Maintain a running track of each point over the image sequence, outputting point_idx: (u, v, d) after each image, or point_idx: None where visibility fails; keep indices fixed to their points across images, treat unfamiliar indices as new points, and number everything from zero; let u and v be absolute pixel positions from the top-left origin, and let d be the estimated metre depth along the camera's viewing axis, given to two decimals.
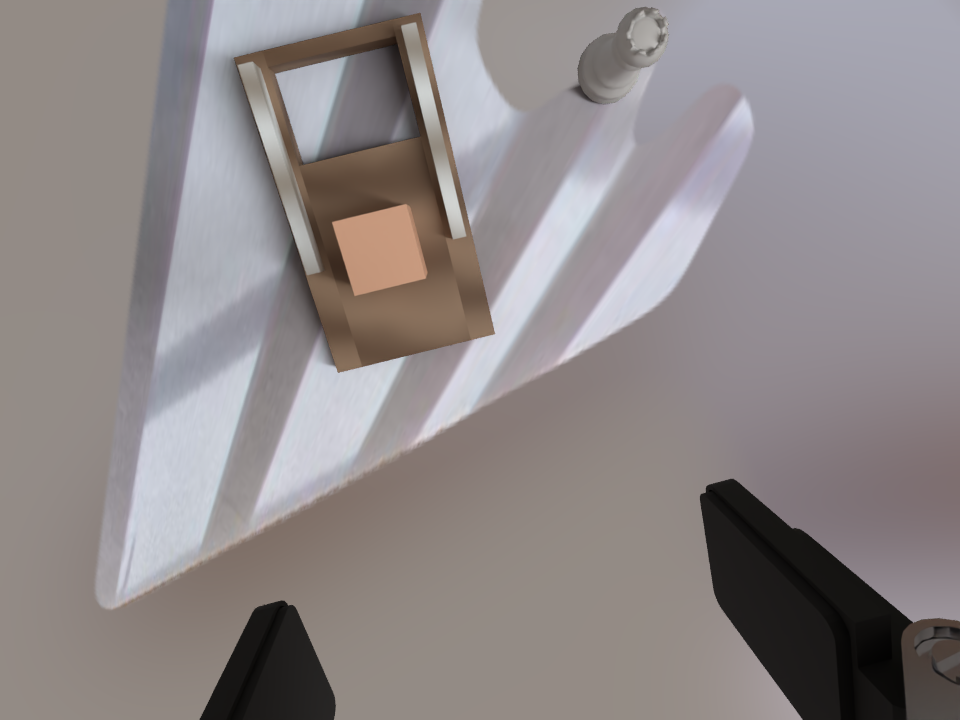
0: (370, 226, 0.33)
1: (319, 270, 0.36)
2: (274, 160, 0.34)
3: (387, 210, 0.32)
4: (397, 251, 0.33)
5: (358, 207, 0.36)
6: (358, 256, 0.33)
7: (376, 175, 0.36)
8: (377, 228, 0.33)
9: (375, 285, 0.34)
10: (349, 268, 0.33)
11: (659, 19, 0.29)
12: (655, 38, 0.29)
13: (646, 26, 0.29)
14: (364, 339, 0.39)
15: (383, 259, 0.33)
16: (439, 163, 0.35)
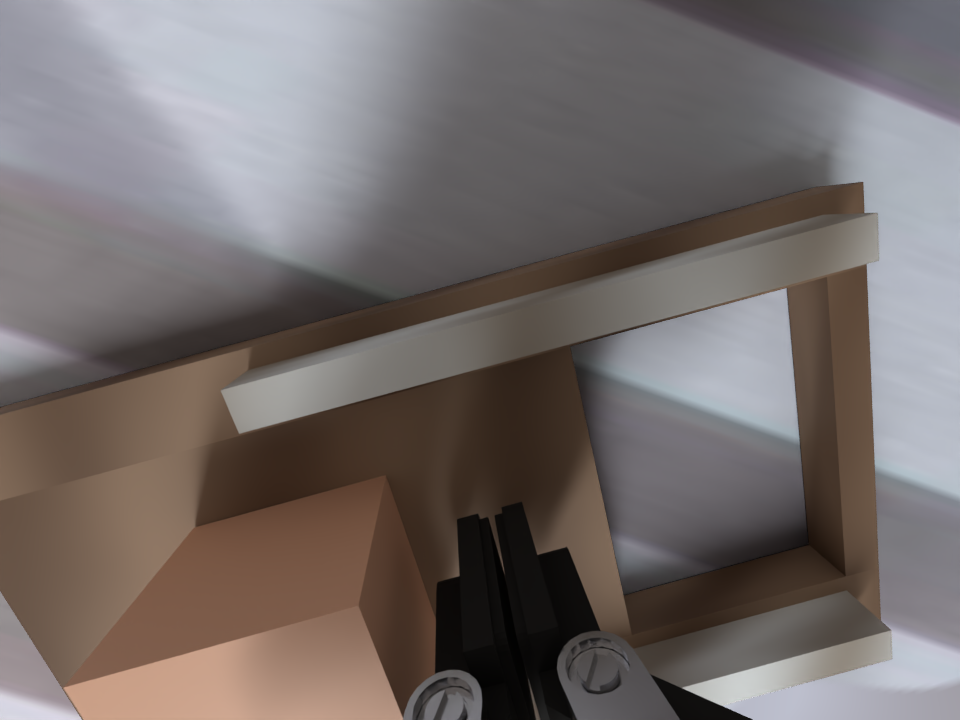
0: None
1: (245, 430, 0.10)
2: (597, 305, 0.10)
3: None
4: None
5: (458, 501, 0.13)
6: (235, 694, 0.08)
7: (542, 543, 0.13)
8: None
9: None
10: (178, 667, 0.08)
11: None
12: None
13: None
14: (51, 520, 0.12)
15: None
16: None
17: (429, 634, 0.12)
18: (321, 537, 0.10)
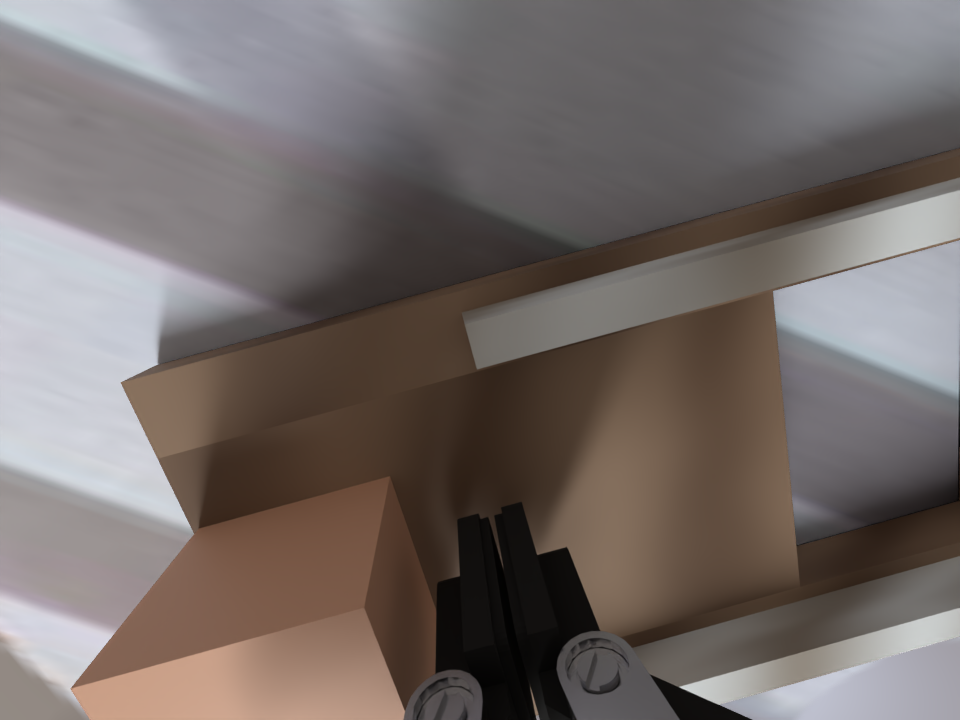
0: None
1: (482, 366, 0.10)
2: (835, 241, 0.10)
3: None
4: None
5: (648, 448, 0.13)
6: (241, 695, 0.08)
7: (725, 492, 0.13)
8: None
9: None
10: (185, 668, 0.08)
11: None
12: None
13: None
14: (254, 466, 0.12)
15: None
16: (762, 673, 0.13)
17: (433, 635, 0.13)
18: (327, 538, 0.10)
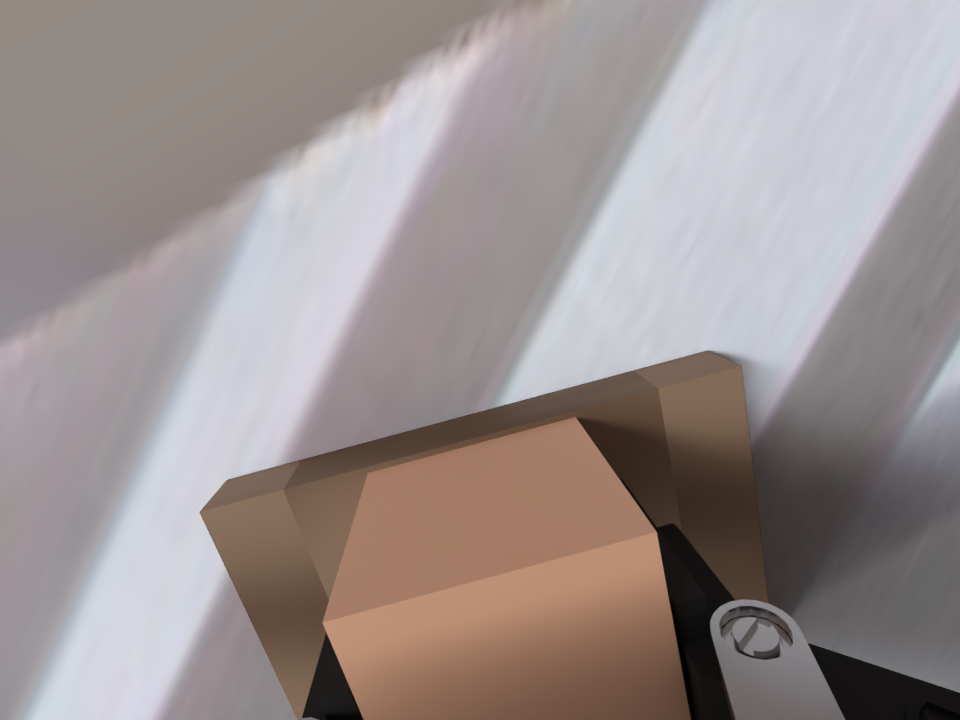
0: None
1: None
2: None
3: None
4: (452, 711, 0.08)
5: None
6: (617, 680, 0.08)
7: None
8: None
9: (555, 580, 0.07)
10: (661, 636, 0.08)
11: None
12: None
13: None
14: (637, 475, 0.12)
15: (513, 679, 0.08)
16: None
17: None
18: None
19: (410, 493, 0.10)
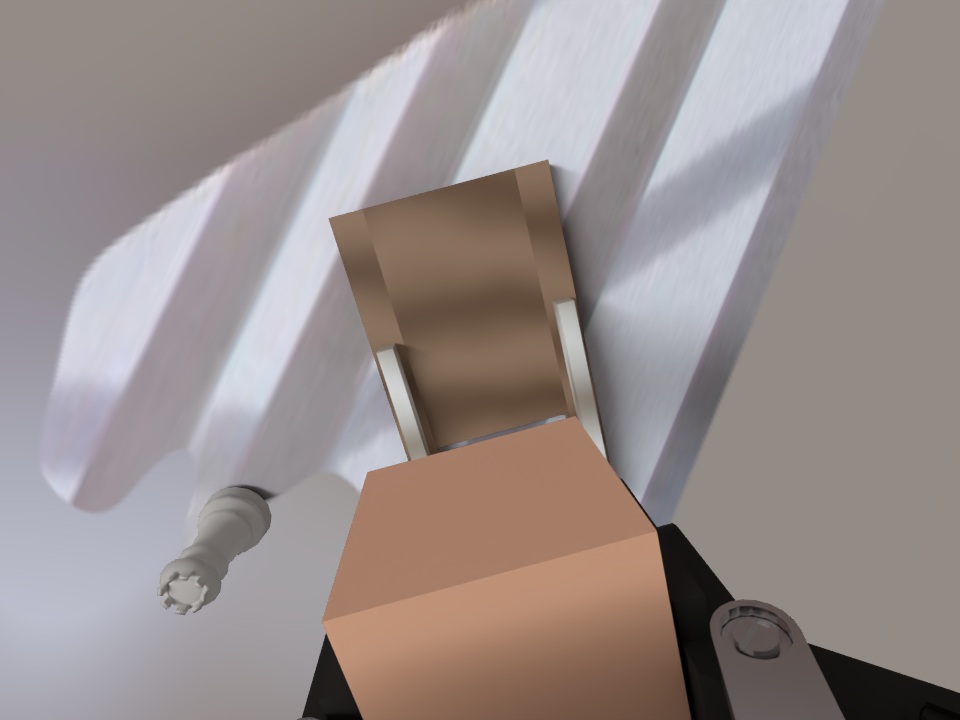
0: None
1: (558, 306, 0.29)
2: (593, 423, 0.31)
3: None
4: (452, 710, 0.08)
5: (507, 373, 0.31)
6: (616, 680, 0.08)
7: (485, 407, 0.32)
8: None
9: (555, 580, 0.07)
10: (661, 635, 0.08)
11: (173, 603, 0.27)
12: (172, 588, 0.27)
13: (186, 597, 0.27)
14: (508, 209, 0.29)
15: (513, 678, 0.08)
16: (413, 430, 0.30)
17: None
18: None
19: (409, 493, 0.10)
